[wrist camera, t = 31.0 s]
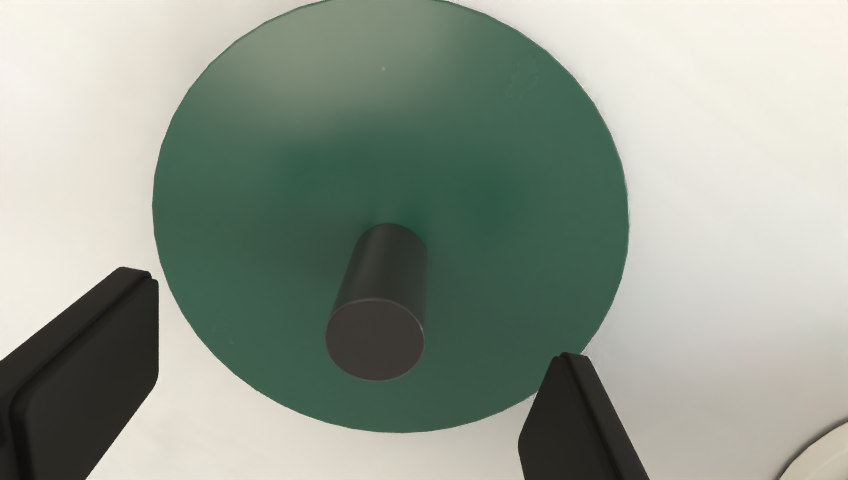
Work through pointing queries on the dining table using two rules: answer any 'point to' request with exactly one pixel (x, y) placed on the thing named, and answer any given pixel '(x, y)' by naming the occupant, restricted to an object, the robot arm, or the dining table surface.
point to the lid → (390, 213)
